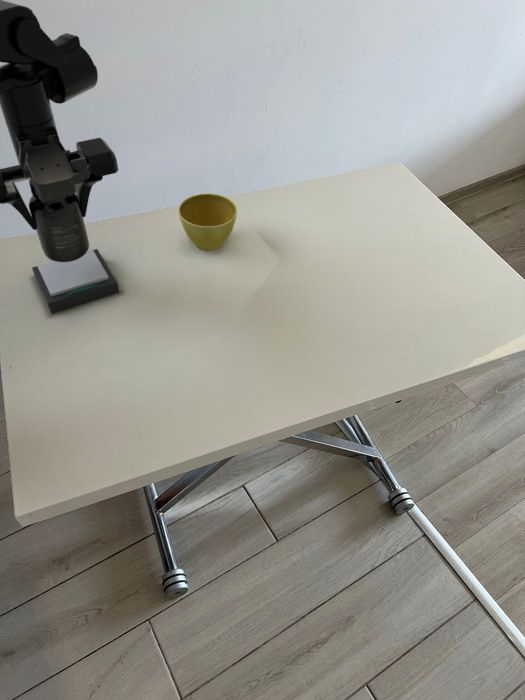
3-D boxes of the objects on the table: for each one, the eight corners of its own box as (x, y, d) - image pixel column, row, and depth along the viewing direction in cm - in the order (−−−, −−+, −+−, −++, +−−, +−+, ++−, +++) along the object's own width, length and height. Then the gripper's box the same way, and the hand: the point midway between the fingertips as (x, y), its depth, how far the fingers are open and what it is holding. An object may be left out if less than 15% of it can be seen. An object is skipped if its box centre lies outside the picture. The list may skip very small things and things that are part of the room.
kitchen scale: (51, 314, 83) (46, 300, 81) (35, 278, 88) (30, 264, 86) (119, 292, 87) (116, 278, 85) (99, 259, 92) (96, 245, 90)
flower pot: (246, 251, 96) (247, 217, 90) (194, 266, 92) (192, 232, 87) (222, 221, 101) (221, 188, 96) (172, 235, 98) (169, 201, 93)
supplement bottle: (41, 240, 83) (19, 169, 74) (86, 233, 85) (69, 163, 76) (46, 267, 79) (22, 196, 70) (93, 259, 80) (76, 188, 71)
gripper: (-40, 163, 58) (5, 272, 70) (123, 130, 65) (139, 234, 77) (-56, 120, 65) (-13, 227, 76) (94, 94, 71) (113, 196, 83)
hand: (58, 222), depth 78 cm, fingers closed on supplement bottle, 7 cm apart
